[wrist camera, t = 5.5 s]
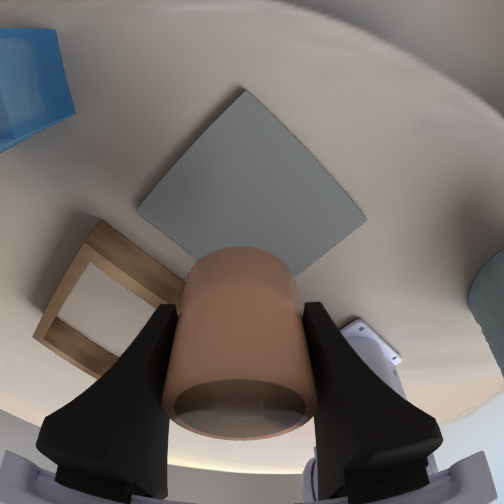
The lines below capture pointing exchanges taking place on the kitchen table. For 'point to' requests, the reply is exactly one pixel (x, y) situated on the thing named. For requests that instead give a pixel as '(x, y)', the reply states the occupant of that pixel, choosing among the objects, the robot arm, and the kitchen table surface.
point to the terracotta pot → (240, 350)
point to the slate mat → (251, 192)
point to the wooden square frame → (123, 271)
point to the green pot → (490, 304)
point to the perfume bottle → (30, 84)
